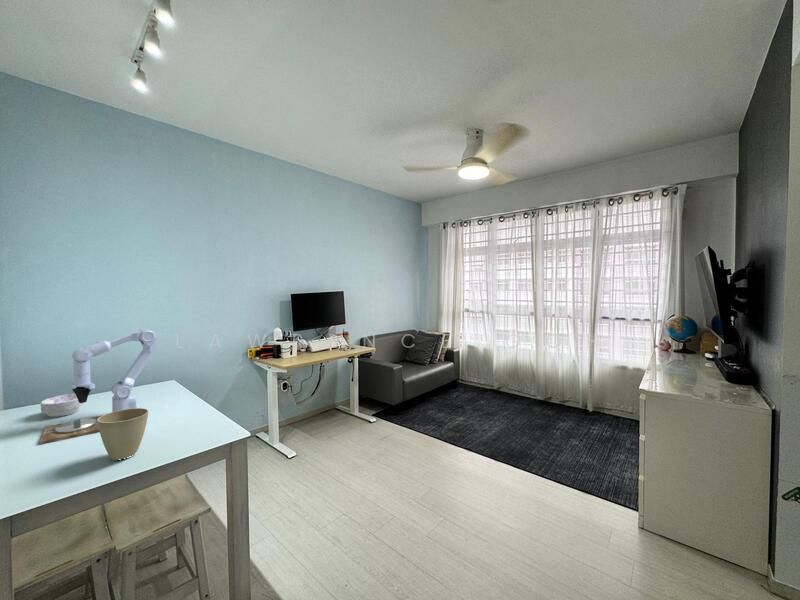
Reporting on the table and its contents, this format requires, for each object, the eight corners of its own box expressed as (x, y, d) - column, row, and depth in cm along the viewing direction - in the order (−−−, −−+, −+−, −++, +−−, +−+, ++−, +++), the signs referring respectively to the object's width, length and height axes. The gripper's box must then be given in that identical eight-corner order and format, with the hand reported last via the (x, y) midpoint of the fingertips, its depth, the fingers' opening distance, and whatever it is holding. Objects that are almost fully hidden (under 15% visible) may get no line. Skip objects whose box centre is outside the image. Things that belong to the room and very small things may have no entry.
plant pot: (138, 463, 119) (137, 420, 118) (88, 469, 115) (87, 424, 114) (155, 444, 133) (155, 406, 133) (112, 449, 129) (111, 409, 129)
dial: (54, 427, 146) (54, 418, 145) (94, 418, 155) (93, 410, 155) (55, 436, 137) (55, 426, 137) (97, 426, 147) (97, 417, 147)
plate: (106, 417, 160) (105, 414, 160) (106, 430, 146) (106, 427, 146) (46, 429, 147) (46, 426, 147) (40, 444, 132) (40, 441, 132)
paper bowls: (45, 422, 155) (45, 405, 154) (37, 415, 163) (36, 399, 162) (88, 412, 167) (88, 396, 167) (78, 406, 175) (78, 391, 175)
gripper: (61, 374, 151) (61, 403, 152) (81, 377, 147) (82, 407, 147) (80, 371, 158) (80, 398, 158) (100, 373, 153) (100, 402, 154)
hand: (82, 402), depth 153 cm, fingers closed
